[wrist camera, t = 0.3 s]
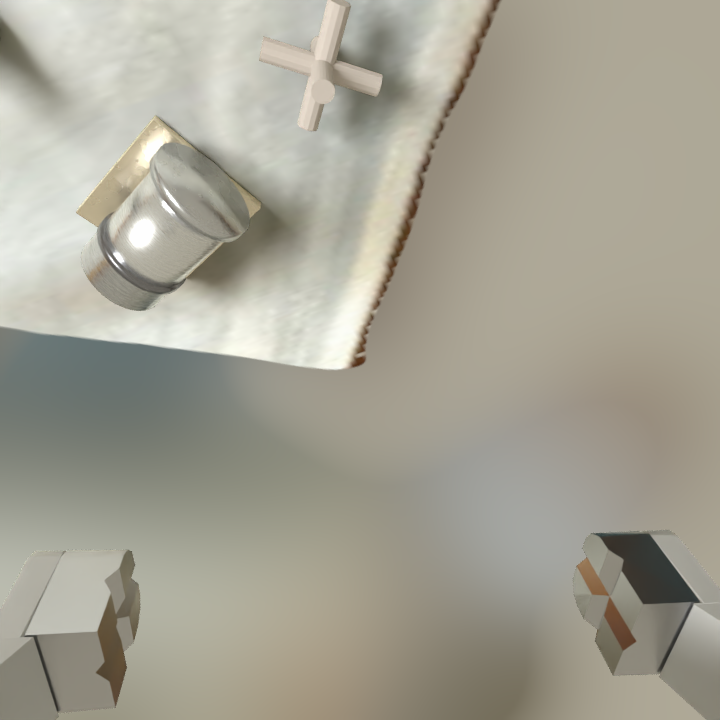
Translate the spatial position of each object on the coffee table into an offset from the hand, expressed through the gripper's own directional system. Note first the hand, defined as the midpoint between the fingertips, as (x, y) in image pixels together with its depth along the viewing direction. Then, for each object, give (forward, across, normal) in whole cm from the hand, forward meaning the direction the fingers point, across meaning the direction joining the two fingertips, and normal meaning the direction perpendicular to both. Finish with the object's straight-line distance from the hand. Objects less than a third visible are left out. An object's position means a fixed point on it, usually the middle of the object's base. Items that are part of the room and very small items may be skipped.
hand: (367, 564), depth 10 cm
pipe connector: (+50, -1, -9) cm, 51 cm away
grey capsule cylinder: (+56, +14, +7) cm, 58 cm away
